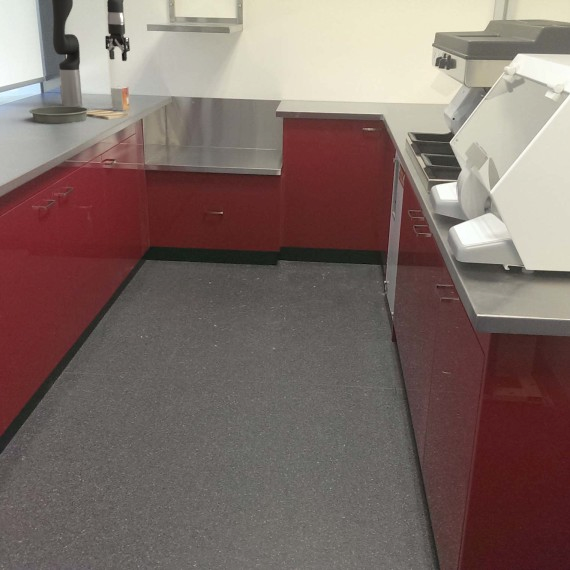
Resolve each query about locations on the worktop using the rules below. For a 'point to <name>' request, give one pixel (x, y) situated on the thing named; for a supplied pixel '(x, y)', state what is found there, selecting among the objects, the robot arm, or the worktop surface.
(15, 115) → the worktop surface
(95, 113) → the maple board
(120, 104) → the small box
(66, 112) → the cake pan
